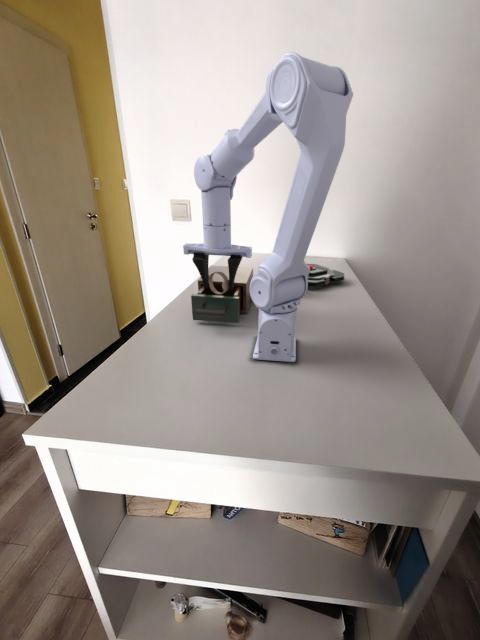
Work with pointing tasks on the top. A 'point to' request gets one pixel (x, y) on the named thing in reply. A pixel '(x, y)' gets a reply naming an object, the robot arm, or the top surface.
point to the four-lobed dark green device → (322, 275)
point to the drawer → (217, 304)
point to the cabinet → (241, 279)
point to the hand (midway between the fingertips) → (219, 287)
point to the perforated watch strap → (224, 285)
